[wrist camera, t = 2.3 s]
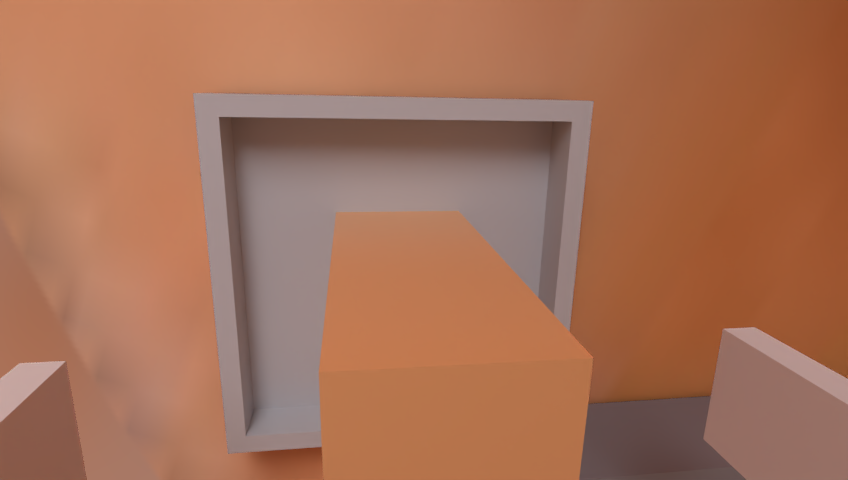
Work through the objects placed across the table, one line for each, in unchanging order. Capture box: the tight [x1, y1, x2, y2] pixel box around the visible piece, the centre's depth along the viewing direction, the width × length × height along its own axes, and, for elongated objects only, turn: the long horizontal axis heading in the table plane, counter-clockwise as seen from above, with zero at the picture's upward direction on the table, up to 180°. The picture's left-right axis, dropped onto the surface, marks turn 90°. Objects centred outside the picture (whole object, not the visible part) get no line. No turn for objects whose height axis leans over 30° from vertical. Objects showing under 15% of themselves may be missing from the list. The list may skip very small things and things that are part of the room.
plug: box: [319, 211, 594, 480], centre depth 13 cm, size 4×4×10 cm
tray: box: [193, 93, 594, 454], centre depth 17 cm, size 11×11×2 cm
